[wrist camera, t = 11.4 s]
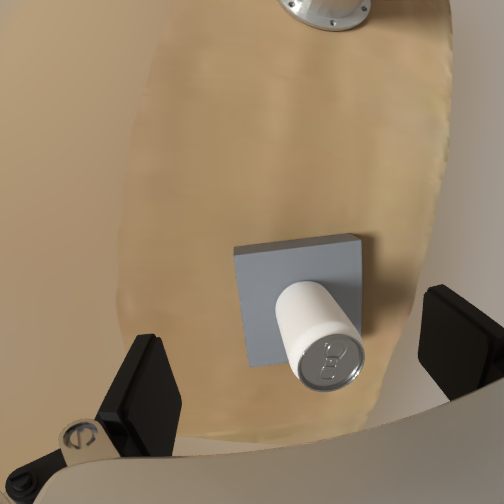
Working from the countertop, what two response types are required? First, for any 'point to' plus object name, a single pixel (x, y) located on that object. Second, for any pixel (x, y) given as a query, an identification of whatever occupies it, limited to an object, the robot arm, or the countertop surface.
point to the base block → (287, 273)
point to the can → (318, 337)
